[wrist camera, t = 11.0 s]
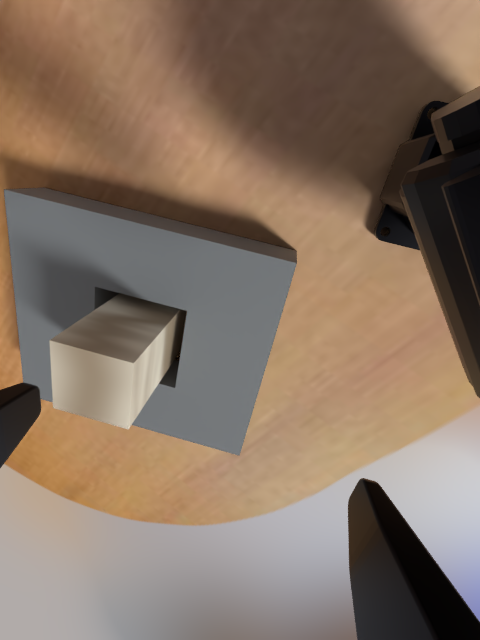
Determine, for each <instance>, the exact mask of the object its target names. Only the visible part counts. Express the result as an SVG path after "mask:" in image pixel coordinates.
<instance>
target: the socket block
mask: <svg viewBox="0 0 480 640" xmlns="http://www.w3.org/2000/svg"><path fill="white" fill-rule="evenodd" d="M4 196H5V205H6V215H7V225H8V235H9V245H10V255H11V265H12V275H13V284H14V294H15V304H16V314H17V324H18V334H19V344H20V354H21V363H22V373H23V383H28V384H32V385H35V386H38V388H39V389H40V399H43V400H46V401H50V402H53V396H52V378H51V360H50V341H49V340H51V339H52V338H54V337H55V336H57V335H58V334H60V333H61V332H63V331H64V330H66V329H67V328H69V327H70V326H72V325H73V324H75V323H76V322H77V321H79V320H80V319H82V318H83V317H85V316H86V315H88V314H89V313H91V312H92V311H94V310H95V309H97V308H98V307H100V306H101V305H103V304H104V303H106V302H107V301H109V300H110V299H112V298H113V297H115V296H116V295H118V294H119V293H121V294H125V295H129V296H132V297H136V298H140V299H144V300H148V301H151V302H155V303H159V304H163V305H167V306H170V307H174V308H178V309H182V310H185V311H187V315H186V322H185V328H184V334H183V341H182V347H181V354H180V360H179V361H177V360H174V361H173V362H172V364H171V366H170V367H169V369H168V370H167V372H166V373H165V375H164V376H163V378H162V379H161V381H160V382H159V384H158V385H157V387H156V388H155V390H154V391H153V393H152V394H151V396H150V397H149V399H148V401H147V402H146V404H145V405H144V407H143V408H142V410H141V411H140V413H139V414H138V416H137V417H136V419H135V420H134V422H133V423H132V425H134V426H138V427H141V428H145V429H148V430H152V431H155V432H159V433H162V434H166V435H169V436H173V437H176V438H180V439H183V440H187V441H190V442H194V443H197V444H201V445H204V446H208V447H211V448H215V449H218V450H222V451H225V452H229V453H232V454H236V455H240V452H241V448H242V445H243V442H244V438H245V435H246V432H247V428H248V425H249V422H250V418H251V415H252V411H253V408H254V405H255V401H256V398H257V395H258V391H259V388H260V385H261V381H262V378H263V375H264V371H265V368H266V365H267V361H268V358H269V355H270V351H271V348H272V344H273V341H274V338H275V334H276V331H277V328H278V324H279V321H280V318H281V314H282V311H283V308H284V304H285V301H286V298H287V294H288V291H289V287H290V284H291V281H292V277H293V274H294V271H295V267H296V264H297V251H296V250H292V249H288V248H284V247H280V246H276V245H272V244H268V243H264V242H260V241H256V240H252V239H248V238H244V237H240V236H236V235H232V234H228V233H224V232H220V231H216V230H212V229H208V228H204V227H200V226H196V225H192V224H188V223H184V222H180V221H176V220H172V219H168V218H164V217H160V216H156V215H152V214H148V213H144V212H140V211H136V210H132V209H128V208H124V207H120V206H116V205H112V204H108V203H104V202H100V201H96V200H92V199H88V198H84V197H80V196H76V195H72V194H68V193H64V192H60V191H56V190H52V189H48V188H23V189H4Z"/></svg>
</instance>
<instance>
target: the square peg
mask: <svg viewBox="0 0 480 640" xmlns="http://www.w3.org/2000/svg"><path fill="white" fill-rule="evenodd" d="M185 316H186V311H185V310H182V309H178V308H174V307H170V306H167V305H163V304H159V303H155V302H151V301H148V300H144V299H140V298H136V297H132V296H129V295H125V294H121V293H119V294H118V295H116V296H115V297H113V298H112V299H110V300H109V301H107V302H106V303H104V304H103V305H101V306H100V307H98V308H97V309H95V310H94V311H92V312H91V313H89V314H88V315H86V316H85V317H83V318H82V319H80V320H79V321H77V322H76V323H75V324H73V325H72V326H70V327H69V328H67V329H66V330H64V331H63V332H61V333H60V334H58V335H57V336H55V337H54V338H52V339H51V340H49V341H50V360H51V378H52V396H53V408H55V409H59V410H62V411H66V412H69V413H73V414H76V415H80V416H83V417H87V418H90V419H94V420H97V421H101V422H104V423H108V424H111V425H115V426H118V427H122V428H125V429H129V428H130V426H131V425H132V423H133V422H134V420H135V419H136V417H137V416H138V414H139V413H140V411H141V410H142V408H143V407H144V405H145V404H146V402H147V401H148V399H149V397H150V396H151V394H152V393H153V391H154V390H155V388H156V387H157V385H158V384H159V382H160V381H161V379H162V378H163V376H164V375H165V373H166V372H167V370H168V369H169V367H170V366H171V364H172V362H173V361H174V359H175V358H176V356H177V355H178V353H179V352H180V349H181V342H182V336H183V329H184V323H185Z"/></svg>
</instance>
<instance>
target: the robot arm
mask: <svg viewBox="0 0 480 640" xmlns="http://www.w3.org/2000/svg"><path fill="white" fill-rule="evenodd" d="M430 109H434V110H435V112H434V113H432V116H431V120H430V119H428V117H427V113H428V111H429V110H430ZM380 198H381V200H382V202H383V203H384V206H383V208H382V211H381V213H380V216H379V218H378V221H377V224H376V226H375V229H374V234H375V236H376V238H378V239H379V240H381V241H385V242H389V243H393V244H397V245H401V246H405V247H409V248H413V249H417V250H420V251H421V253H422V256H423V259H424V262H425V264H426V267H427V270H428V273H429V275H430V278H431V281H432V284H433V286H434V289H435V292H436V295H437V297H438V300H439V303H440V306H441V308H442V311H443V314H444V316H445V319H446V322H447V325H448V327H449V330H450V333H451V336H452V338H453V341H454V344H455V347H456V349H457V352H458V355H459V358H460V360H461V363H462V366H463V368H464V371H465V373H466V375H467V378H468V380H469V382H470V383H471V385H472V386H473V387H474V390H475V393H476V395H477V396H478V397H479V398H480V86H479V87H477V88H475V89H474V90H472V91H470V92H468V93H467V94H465V95H463V96H461V97H460V98H458V99H456V100H454V101H453V102H451V103H445V102H441V101H433V102H430V103H428V104H427V105H425V106H424V107H423V108H422V109H421V111H420V113H419V115H418V118H417V121H416V123H415V126H414V128H413V131H412V133H411V136H410V139H409V141H407V142H405V143H403V144H402V145H400V146H399V149H398V151H397V154H396V157H395V159H394V162H393V165H392V167H391V170H390V172H389V175H388V178H387V180H386V183H385V186H384V188H383V191H382V193H381V196H380ZM384 227H388V229H389V230H388V233H387V234H386V235H381V233H380V232H381V229H382V228H384ZM40 412H41V399H40V389H39V388H38V386H35V385H32V384H28V383H20V384H17V385H14V386H11V387H8V388H5V389H2V390H0V468H1V467H2V465H3V464H4V463H5V461H6V460H7V459H8V458H9V456H10V455H11V453H12V452H13V451H14V449H15V448H16V447H17V445H18V444H19V443H20V441H21V440H22V439H23V437H24V436H25V434H26V433H27V432H28V430H29V429H30V428H31V426H32V425H33V424H34V422H35V421H36V419H37V418H38V416H39V415H40ZM348 529H349V530H348V531H349V570H350V581H351V590H352V598H353V607H354V615H355V623H356V632H357V640H480V622H479V620H478V619H477V618H476V616H475V615H474V613H473V612H472V611H471V609H470V608H469V607H468V605H467V604H466V602H465V601H464V600H463V598H462V597H461V596H460V594H459V593H458V592H457V590H456V589H455V588H454V586H453V585H452V583H451V582H450V581H449V579H448V578H447V577H446V575H445V574H444V572H443V571H442V570H441V568H440V567H439V565H438V564H437V563H436V561H435V560H434V559H433V557H432V556H431V555H430V553H429V552H428V551H427V549H426V548H425V546H424V545H423V544H422V542H421V541H420V539H419V538H418V537H417V535H416V534H415V533H414V531H413V530H412V529H411V527H410V526H409V524H408V523H407V522H406V520H405V519H404V518H403V516H402V515H401V514H400V512H399V511H398V510H397V508H396V507H395V505H394V504H393V503H392V501H391V500H390V499H389V497H388V496H387V494H386V493H385V492H384V490H383V489H382V487H381V486H380V485H379V484H378V483H377V482H375V481H372V480H368V479H364V478H362V479H360V480H359V482H358V483H357V485H356V487H355V489H354V491H353V492H352V494H351V496H350V498H349V502H348Z"/></svg>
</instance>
